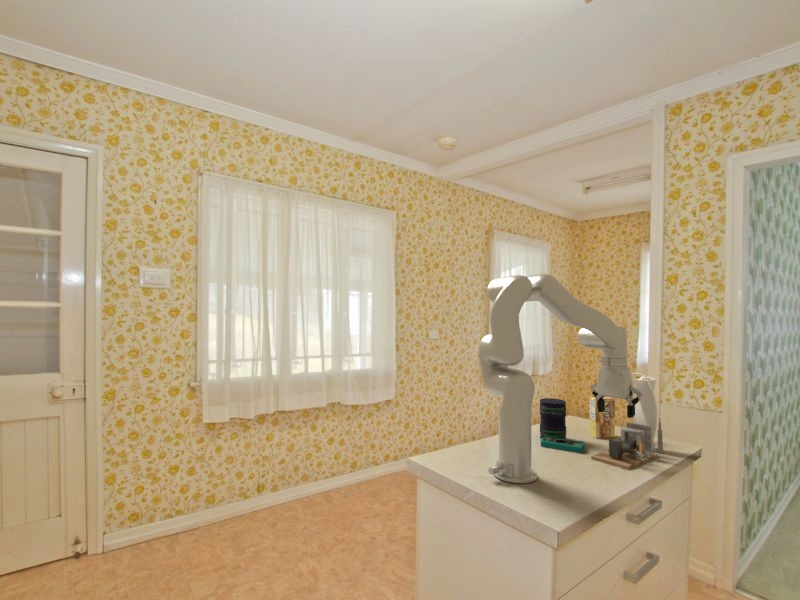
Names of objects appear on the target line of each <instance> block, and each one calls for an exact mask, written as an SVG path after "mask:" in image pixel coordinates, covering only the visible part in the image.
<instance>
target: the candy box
mask: <svg viewBox="0 0 800 600" xmlns="http://www.w3.org/2000/svg"><path fill="white" fill-rule="evenodd" d="M603 399H604V400H605V411H603V412H598V408H597V400H596V398H595V397H589V436H590V437H593V438H595V439H601V438H616V433H615V431H616V428H615V427H616V423H615V420H616V419H615V417H616V415H615V412H616V410H615V406H616V405H615V402H616V400H615V399H616V398H612V397H606V396H605V397H604V398H603Z"/></svg>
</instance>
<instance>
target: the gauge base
mask: <svg viewBox="0 0 800 600" xmlns="http://www.w3.org/2000/svg"><path fill="white" fill-rule="evenodd" d="M625 439H633V440H636V445H637V449H634V451H638V452H639V443H642V453H643V456H637V455H633V454H629V453H623V457H622V458H620V459H616V458H613V457H609V449H608V450H605V451H602V452H599V453H597V454H593V455H591V456H590V459H591V460H593V461H597V462H599V463H604V464H606V465H610V466H613V467H616V468H621V469H624V470H627V471H628V470H632V469H633V467H634V468H636V467H638V466H641V465H643V464H646V463H647V462H650V461H652V460H655V459H656V458H659V454H655V453H652V447H651V427H649V426H644V425H639V424H635V422H634V423H633V422H628V421H627V422H626V426H623V427H620V440H625Z"/></svg>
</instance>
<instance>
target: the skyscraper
mask: <svg viewBox="0 0 800 600" xmlns="http://www.w3.org/2000/svg"><path fill="white" fill-rule="evenodd" d="M635 375H639V376H640V377H639V378H636V377H635ZM631 376H632V379H633V381H634V387H635V388H636V389H638V390H640V391H641V392H643V396H642V398H641V400H640V401H639V402H638V403H637V404H636V405H635V415H634V417H633V419H634V420H633V421H634V424H639V425H644V426H649V427H651V447H652V453H659V454H658V455H665V453H664V442H663V429H662V422H661V417H659V419H658V407H657V405H658V404H657V401H656V396H655V393H654V391H655V386H656V381H657V379H656V378H655V377H651V376H646V375H644V374H643V373H640V372H631ZM634 398H636V395H635V397H634ZM658 420H659V422H658ZM657 427H658V429H657ZM656 431H657V447H656V444H655V442H654V441H655V435H656Z"/></svg>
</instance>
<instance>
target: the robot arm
mask: <svg viewBox="0 0 800 600" xmlns="http://www.w3.org/2000/svg"><path fill="white" fill-rule="evenodd" d="M486 295H487V297H488V299H489V300H490V301H491V302H492V303H493V304H492V306H491V310H490V312H489V322H490V323H489V324H490V333H488V334H486V335H484V336H483V337H482V339H481V340H480V343H479V345H478V356H479V357H478V358H479V363H480V370H481V375H482V379H483V383H484V384H483V385H484V386H485V389H486V390H487V391H488V393H490V394H491V395H493V396H495V397H498V398H502V400H501V404H500V407H499V410H498V419H497V420H498V460H496V465H494V466H490V467H489V468H488V470H487V471H488V474H490V475H491V476H492V475H494V476H495V477H496V478H497V479H499V480H501V481H504V482H507V483H512V484H530V483H533V482H535V481H537V479H538V474H537V472H536V471H535V470H534V469H532V410H533V409H532V407H533V401H534V395H535V389H536V387H535V383H534V380H533V377H532V376H530V374H529V373H527V372H525V371H523V370H521V369H516V368H512V367H513V366H517V365H519V364H520V363H521V362H522V361H523V359H524V356H525V350H524V345H523V338H522V331H521V326H520V313H521V310H522V309H523V306H524V305H525V303H526V302H539V303H540V304H542V305H543V306H544V307H545V308H546V309H547V310H548V311H549V312H550V313H551V314H552V315H553V316H554V317H555V318H557V320H559V321H561V322H563V323H565V324H568V325H572V326H575V327H580V329H579V331H578V332H577V340H578V342H579V344H580V345H582V346H583V347H585V348H588V349H589V348H590V349H601V357H599V358H598V362H599V363H601V365H599V369H598V372H597V373H598V374H597V382H596V383H594V384H591V385H589V389H590V391H591V394H592V395H593V397H594V398H596V400H597V408H598V412H603V411H605V400H604V399H603V398H604V397H610V398H613V399H619V400H625V402H626V403H627V404H628V405H626V410H627V411H626V412H627V413H626V415H627V416H626V417H627V418H629V419H631V418H634V415H635V405H636V404H637V403H638V402H639V401H640V400H641V398H642V396H643V392H641V391H640V390H638V389H636V386H634V385H633V384H634V383H633V376H632V372H631V370H630V367H628V338H627V337H628V332H627V331H628V330H627V328H626V327H625V326H622V325H617V324H616V323H615V322H614V321H613V320H612V319H611V318H610V317H609V316H608V315H606V314H604V313H603V312H601V311H599V310H598V309H596V308H595V307H592V306H590V305H588V304H586V303H584V302H581V301H580V300H578V299H577V298H576V297H575V295H573V293H571V292H570V291H569V290H568V289H567V288H566V287H565V286H564V285H563V284H562V283H561V282H560V281H559V280H558V279H556V277H555V276H553V275H552V274H548V273H538V274H533V275H520V274H519V275H518V274H517V275H516V274H515V275H509V276H505V277H504V276H503V277H497V278H494V279H493V280H491V281H490V282H489V284H488V286H487V288H486ZM509 366H510V367H509ZM634 394H635V396H636V398H635V397H633V396H634Z"/></svg>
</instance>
